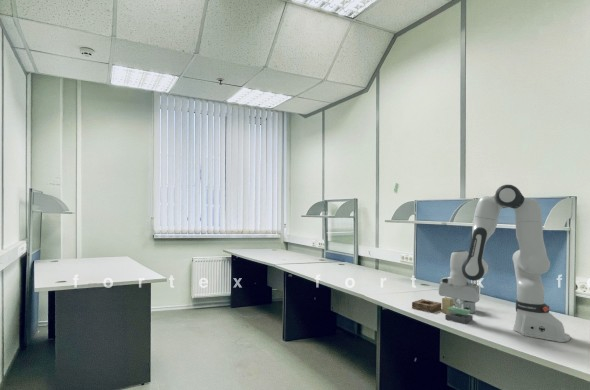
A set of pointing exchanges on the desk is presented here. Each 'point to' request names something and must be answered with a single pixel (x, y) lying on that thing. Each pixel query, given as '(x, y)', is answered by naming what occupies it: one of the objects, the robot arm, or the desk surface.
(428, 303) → the brown square frame
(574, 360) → the desk surface
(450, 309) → the button
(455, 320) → the block
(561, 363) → the desk surface
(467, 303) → the light bulb box
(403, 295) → the desk surface
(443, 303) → the block
